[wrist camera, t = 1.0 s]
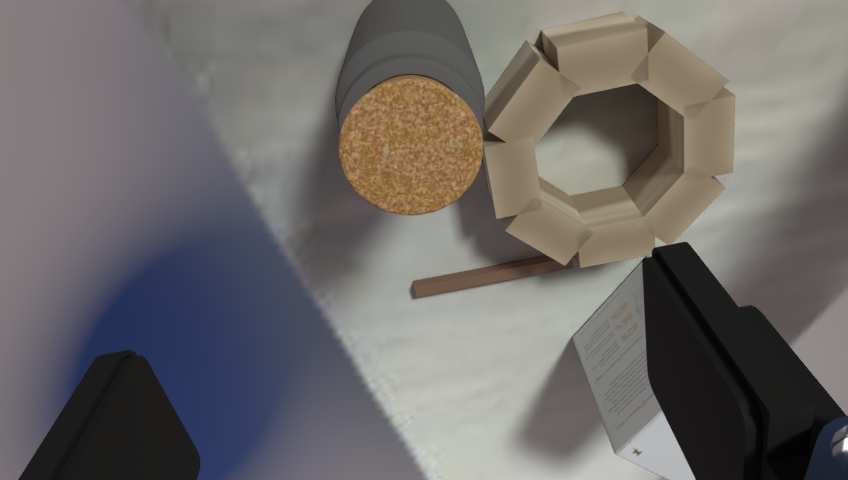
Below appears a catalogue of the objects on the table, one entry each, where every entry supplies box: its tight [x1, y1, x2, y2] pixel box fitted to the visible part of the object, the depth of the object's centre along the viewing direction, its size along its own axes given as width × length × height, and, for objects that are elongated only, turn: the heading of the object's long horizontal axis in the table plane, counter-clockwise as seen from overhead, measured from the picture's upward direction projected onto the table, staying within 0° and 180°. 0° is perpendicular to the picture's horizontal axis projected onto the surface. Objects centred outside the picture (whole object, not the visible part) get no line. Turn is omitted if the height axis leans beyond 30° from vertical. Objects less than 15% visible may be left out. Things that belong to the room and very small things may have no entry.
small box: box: [573, 255, 696, 480], centre depth 38 cm, size 8×6×10 cm
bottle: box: [335, 0, 485, 215], centre depth 27 cm, size 6×6×15 cm
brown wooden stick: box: [414, 256, 572, 297], centre depth 41 cm, size 10×1×1 cm, turn 102°
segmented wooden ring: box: [483, 12, 736, 268], centre depth 35 cm, size 12×12×4 cm
